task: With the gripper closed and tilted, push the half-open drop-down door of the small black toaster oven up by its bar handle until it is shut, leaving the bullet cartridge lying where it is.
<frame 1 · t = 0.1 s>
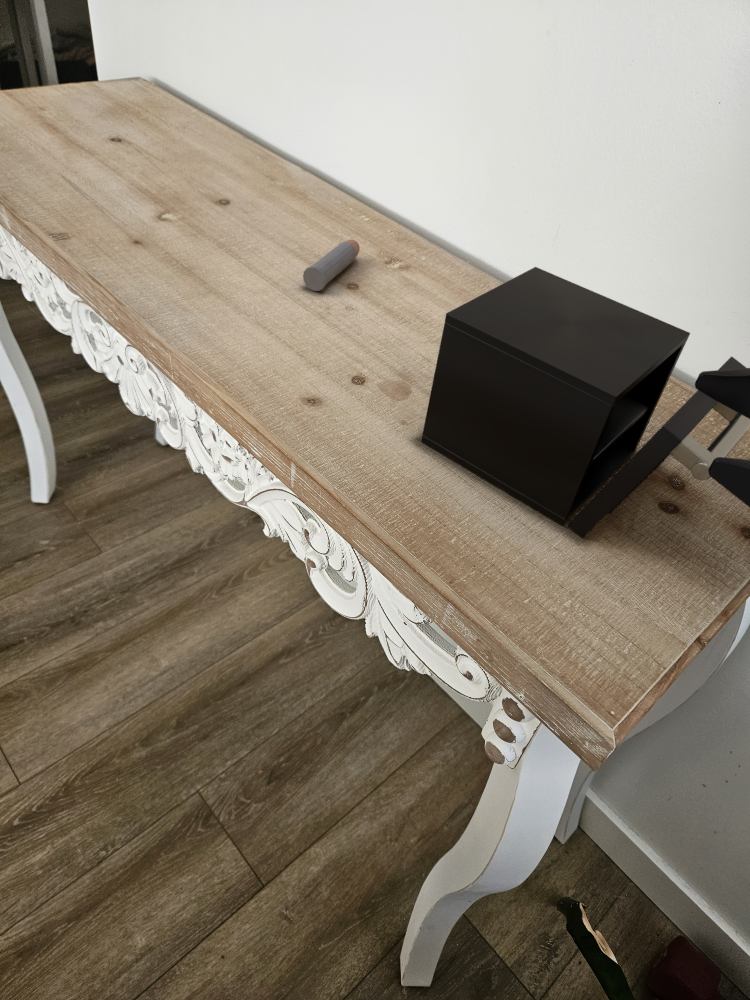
hand: (703, 419, 42), 17 cm above the table, tool horizontal, fingers open, 9 cm apart
oven: (529, 448, 66), on the table
bullet cartridge: (333, 275, 88), on the table
oven door: (671, 461, 57), point 6 cm above the table, hinge at 15.6°
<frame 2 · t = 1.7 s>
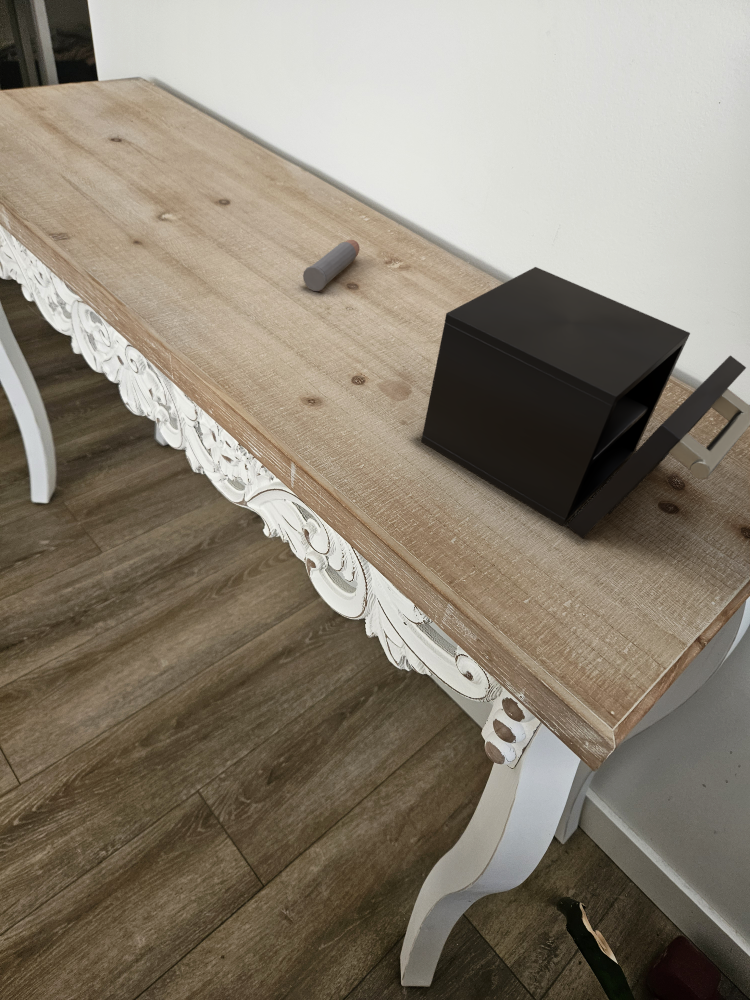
oven door: (671, 460, 57), point 6 cm above the table, hinge at 15.0°
everything else where it was.
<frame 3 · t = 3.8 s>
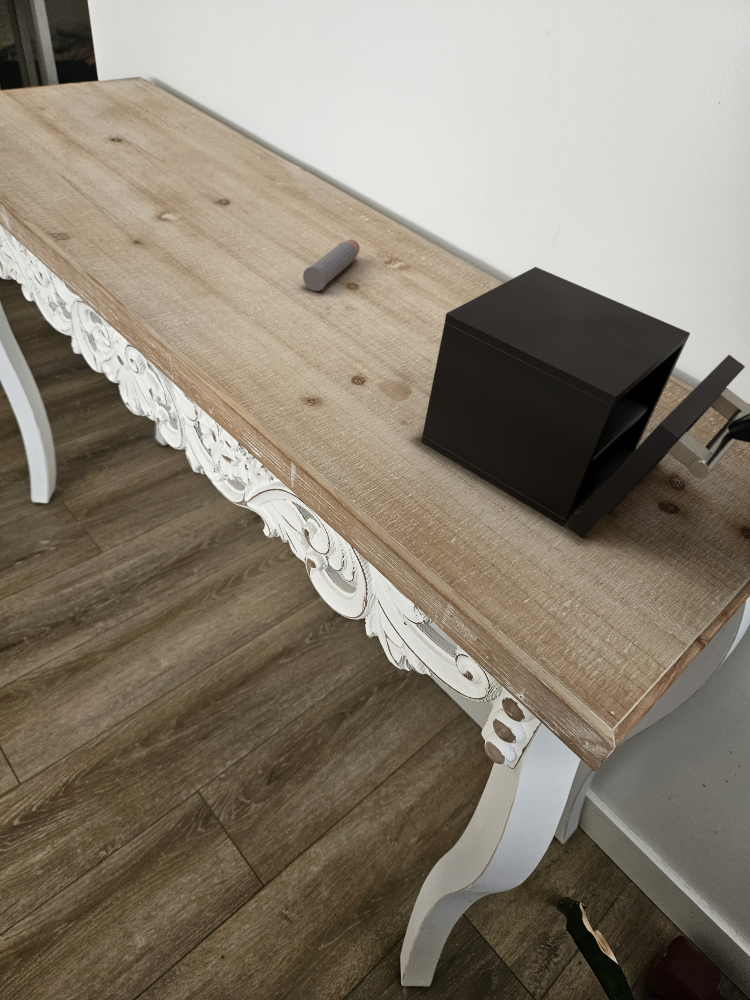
hand: (731, 430, 52), 10 cm above the table, tool tilted 45°, fingers closed, pressing on oven door
oven door: (670, 459, 57), point 6 cm above the table, hinge at 14.4°, touching gripper
everything else where it was.
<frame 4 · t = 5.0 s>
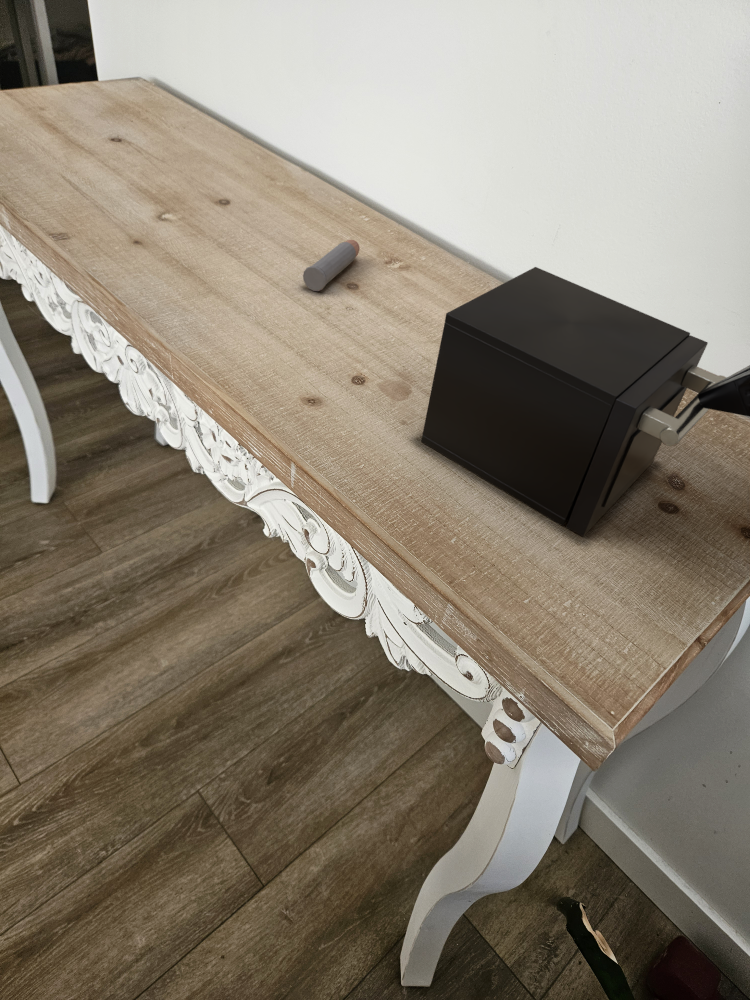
hand: (701, 399, 53), 12 cm above the table, tool tilted 45°, fingers closed, pressing on oven door
oven door: (654, 444, 57), point 7 cm above the table, hinge at -1.1°, touching gripper, oven
everything else where it was.
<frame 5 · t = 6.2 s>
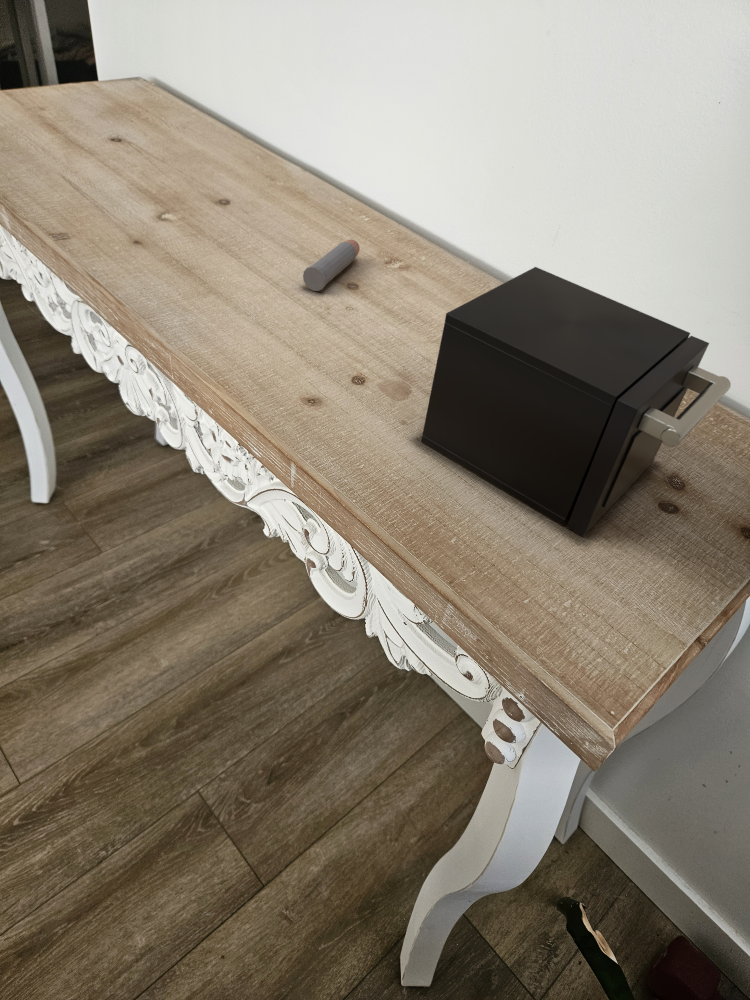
oven door: (655, 444, 57), point 7 cm above the table, hinge at -0.7°
everything else where it was.
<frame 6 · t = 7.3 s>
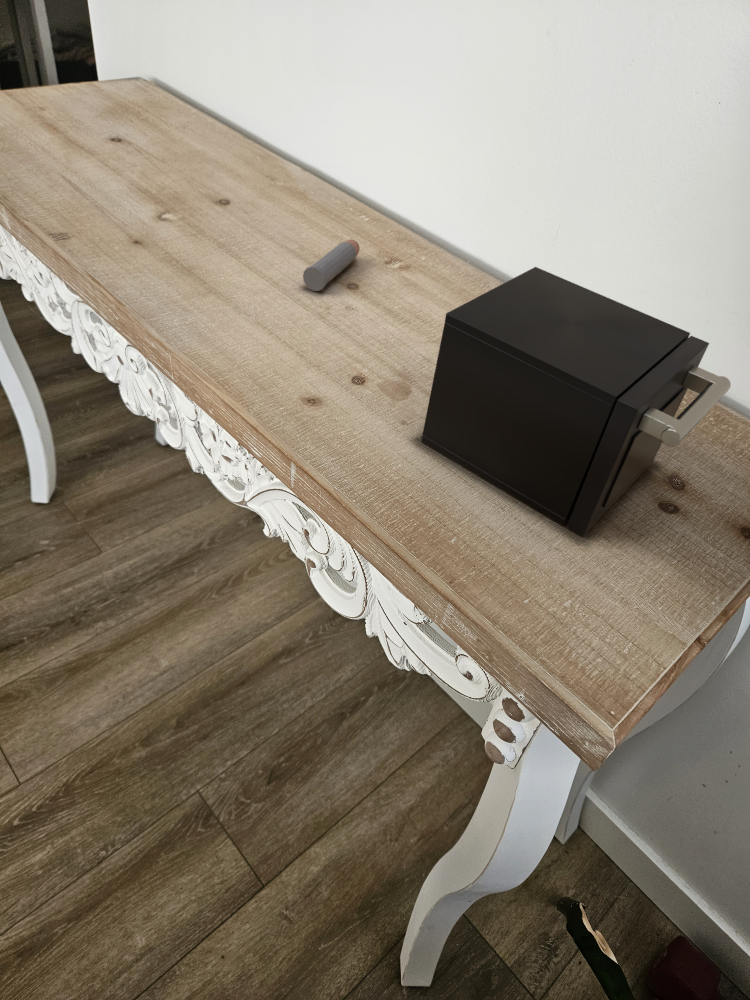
nothing on the table moved.
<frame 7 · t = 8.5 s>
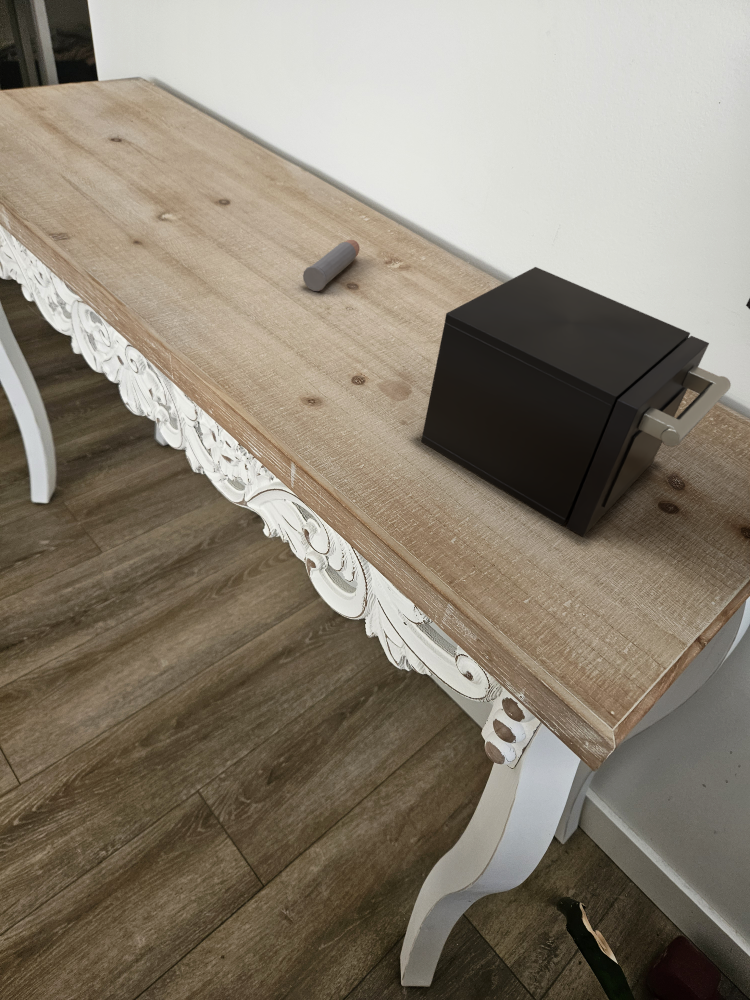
nothing on the table moved.
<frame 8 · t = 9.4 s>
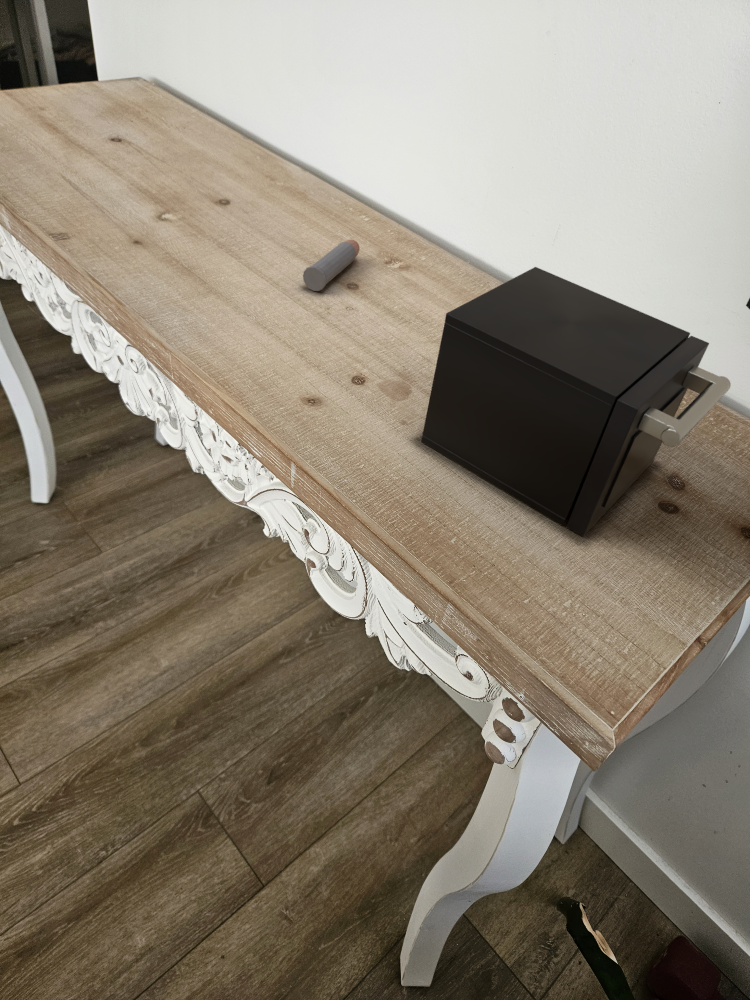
nothing on the table moved.
at the end: oven door at -1° (first picture: +17°); bullet cartridge moved 0.2 cm from its start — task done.
